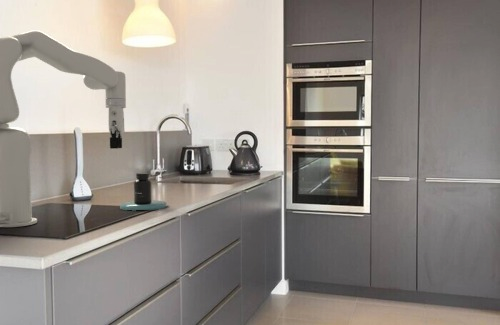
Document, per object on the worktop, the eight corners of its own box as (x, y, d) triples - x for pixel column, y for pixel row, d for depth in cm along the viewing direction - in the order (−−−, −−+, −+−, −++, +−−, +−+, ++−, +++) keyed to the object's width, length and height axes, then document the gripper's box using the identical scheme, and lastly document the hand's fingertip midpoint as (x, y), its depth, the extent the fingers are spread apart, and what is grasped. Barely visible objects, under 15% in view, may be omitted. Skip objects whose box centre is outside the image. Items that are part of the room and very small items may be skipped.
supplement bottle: (134, 205, 195) (133, 174, 194) (133, 202, 201) (133, 172, 200) (152, 204, 196) (151, 173, 196) (151, 202, 203) (150, 172, 202)
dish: (150, 211, 187) (150, 207, 187) (110, 209, 194) (110, 205, 194) (175, 205, 204) (175, 201, 204) (137, 203, 210) (137, 199, 210)
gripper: (122, 102, 187) (123, 148, 187) (128, 105, 204) (128, 147, 204) (102, 102, 186) (102, 148, 186) (109, 105, 203) (109, 147, 203)
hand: (116, 148), depth 195 cm, fingers open, 9 cm apart
